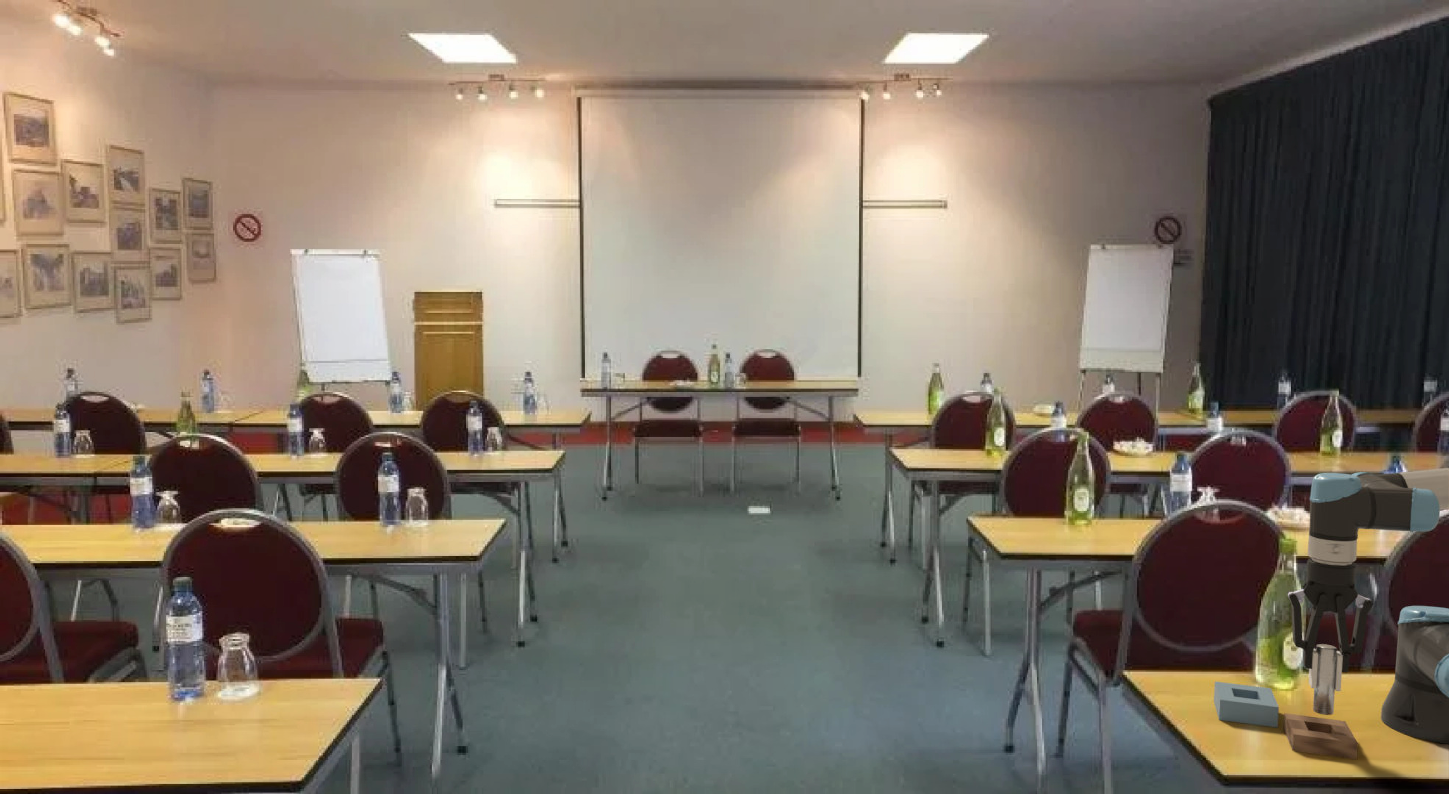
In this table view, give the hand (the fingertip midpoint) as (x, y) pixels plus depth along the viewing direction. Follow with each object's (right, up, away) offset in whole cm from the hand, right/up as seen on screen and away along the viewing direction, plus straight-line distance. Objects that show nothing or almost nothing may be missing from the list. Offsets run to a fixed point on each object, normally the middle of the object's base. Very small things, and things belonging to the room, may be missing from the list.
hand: (1324, 687), depth 187 cm
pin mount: (0, -11, +1) cm, 11 cm away
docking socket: (-7, -9, +14) cm, 18 cm away
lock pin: (0, -5, 0) cm, 5 cm away
